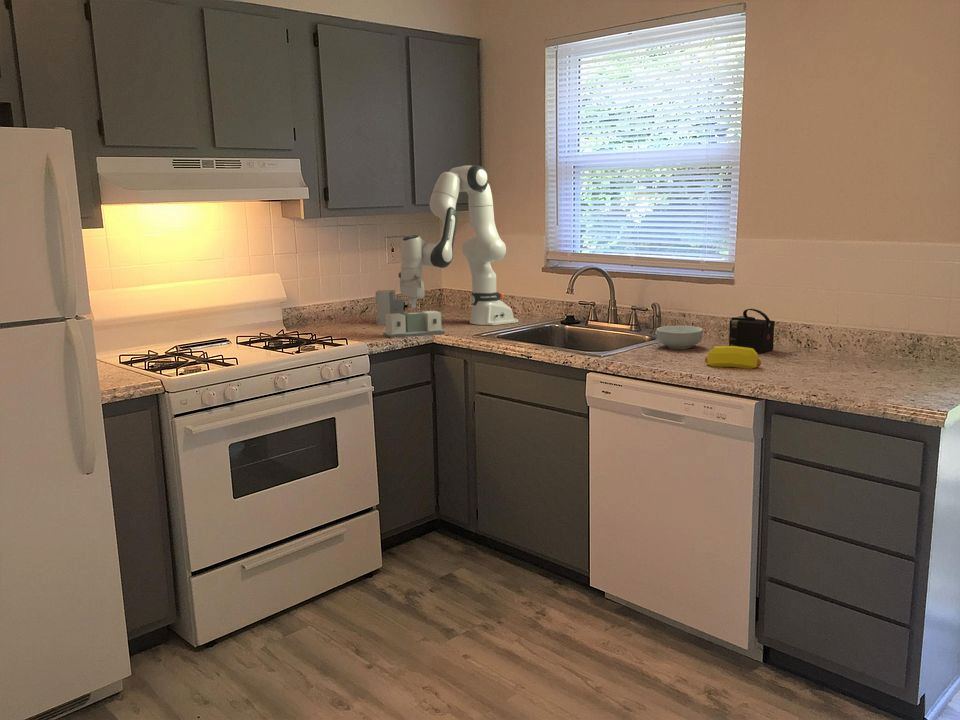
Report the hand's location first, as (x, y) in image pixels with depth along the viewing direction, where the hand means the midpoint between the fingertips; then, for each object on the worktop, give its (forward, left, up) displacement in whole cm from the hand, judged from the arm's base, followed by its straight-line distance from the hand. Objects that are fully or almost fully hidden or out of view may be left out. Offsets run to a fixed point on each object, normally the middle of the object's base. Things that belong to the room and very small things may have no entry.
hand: (412, 307), depth 346 cm
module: (0, 0, -10) cm, 10 cm away
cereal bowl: (-76, +80, -12) cm, 111 cm away
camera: (-95, +97, -12) cm, 136 cm away
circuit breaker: (-3, -37, -12) cm, 39 cm away
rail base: (0, 0, -11) cm, 11 cm away
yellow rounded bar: (-69, +117, -12) cm, 137 cm away
